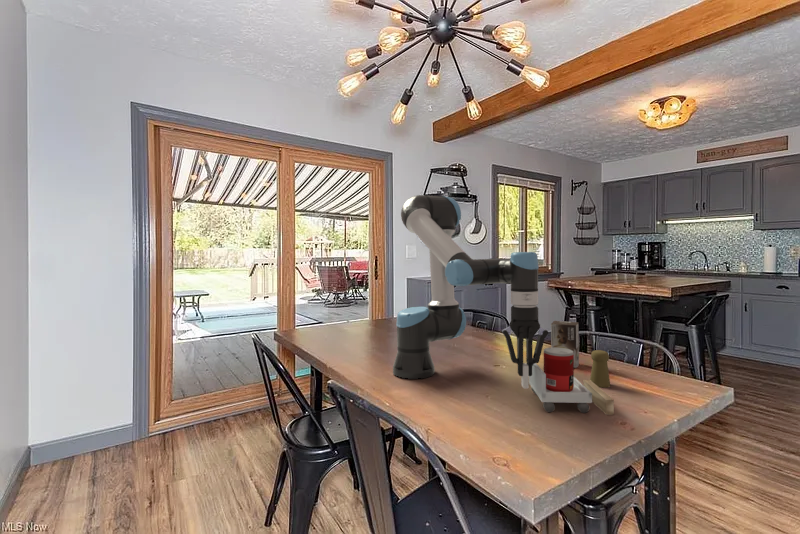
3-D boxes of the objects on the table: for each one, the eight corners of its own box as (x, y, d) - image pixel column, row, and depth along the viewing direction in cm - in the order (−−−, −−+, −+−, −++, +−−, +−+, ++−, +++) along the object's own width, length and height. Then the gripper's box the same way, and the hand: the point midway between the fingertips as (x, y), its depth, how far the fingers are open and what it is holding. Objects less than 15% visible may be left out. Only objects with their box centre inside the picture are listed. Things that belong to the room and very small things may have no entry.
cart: (542, 412, 107) (541, 374, 107) (529, 392, 122) (528, 358, 122) (591, 413, 106) (592, 374, 105) (572, 392, 121) (572, 359, 120)
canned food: (576, 393, 109) (576, 354, 109) (546, 392, 111) (546, 353, 110) (570, 384, 117) (570, 347, 116) (541, 383, 118) (541, 346, 118)
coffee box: (579, 364, 151) (579, 322, 150) (576, 368, 145) (576, 325, 145) (554, 360, 156) (554, 320, 155) (550, 365, 150) (550, 322, 150)
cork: (609, 382, 130) (610, 349, 129) (611, 388, 124) (611, 354, 124) (589, 380, 132) (589, 347, 132) (589, 386, 127) (589, 352, 126)
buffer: (605, 414, 105) (605, 399, 105) (583, 392, 121) (583, 379, 121) (613, 414, 105) (613, 399, 105) (590, 392, 121) (590, 380, 121)
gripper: (503, 307, 110) (504, 391, 111) (551, 307, 109) (551, 391, 110) (499, 304, 118) (499, 382, 119) (544, 303, 117) (544, 382, 118)
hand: (524, 386), depth 115 cm, fingers closed
